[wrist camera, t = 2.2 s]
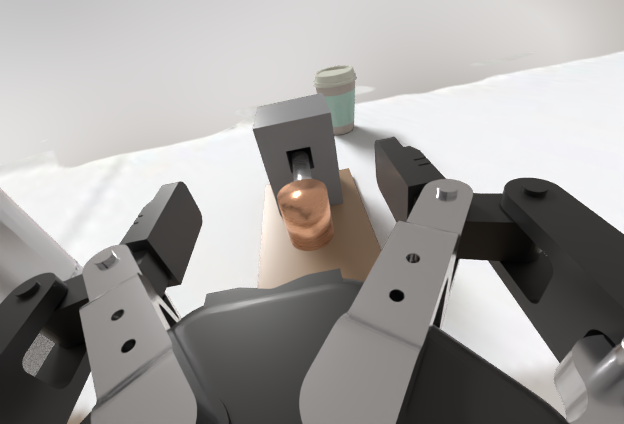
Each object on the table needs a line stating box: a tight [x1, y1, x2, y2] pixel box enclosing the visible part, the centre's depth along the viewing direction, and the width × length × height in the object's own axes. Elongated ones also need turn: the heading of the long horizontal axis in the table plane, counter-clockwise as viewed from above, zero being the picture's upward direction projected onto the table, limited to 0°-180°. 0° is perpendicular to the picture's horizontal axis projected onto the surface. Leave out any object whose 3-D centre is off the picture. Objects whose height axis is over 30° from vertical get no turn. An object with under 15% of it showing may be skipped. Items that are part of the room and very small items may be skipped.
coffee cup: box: [314, 65, 356, 135], centre depth 59 cm, size 8×8×12 cm
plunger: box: [277, 150, 334, 251], centre depth 30 cm, size 14×4×5 cm, turn 4°
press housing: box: [253, 93, 381, 289], centre depth 34 cm, size 23×14×14 cm, turn 4°
